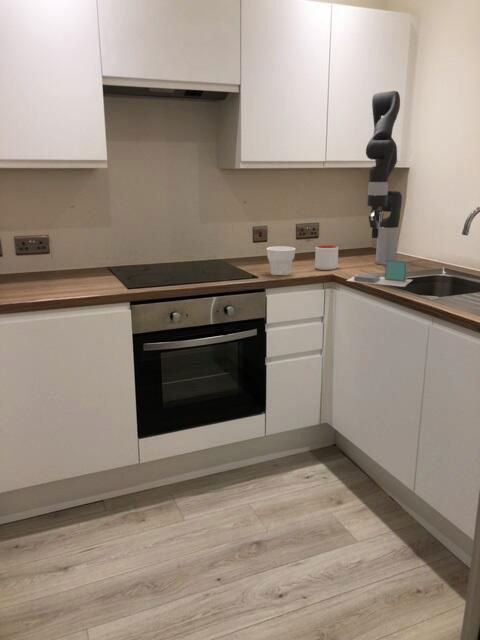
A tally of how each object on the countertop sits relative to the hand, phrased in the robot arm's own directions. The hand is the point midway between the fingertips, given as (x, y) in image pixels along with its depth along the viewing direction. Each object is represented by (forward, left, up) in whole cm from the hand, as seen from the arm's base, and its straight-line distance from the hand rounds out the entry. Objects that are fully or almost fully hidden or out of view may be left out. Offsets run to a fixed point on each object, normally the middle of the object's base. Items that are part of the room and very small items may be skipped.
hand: (374, 237), depth 208 cm
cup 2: (-10, -24, -17) cm, 31 cm away
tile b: (+2, +10, -16) cm, 19 cm away
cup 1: (+10, -37, -17) cm, 42 cm away
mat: (+5, +4, -17) cm, 18 cm away
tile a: (+3, 0, -15) cm, 15 cm away
